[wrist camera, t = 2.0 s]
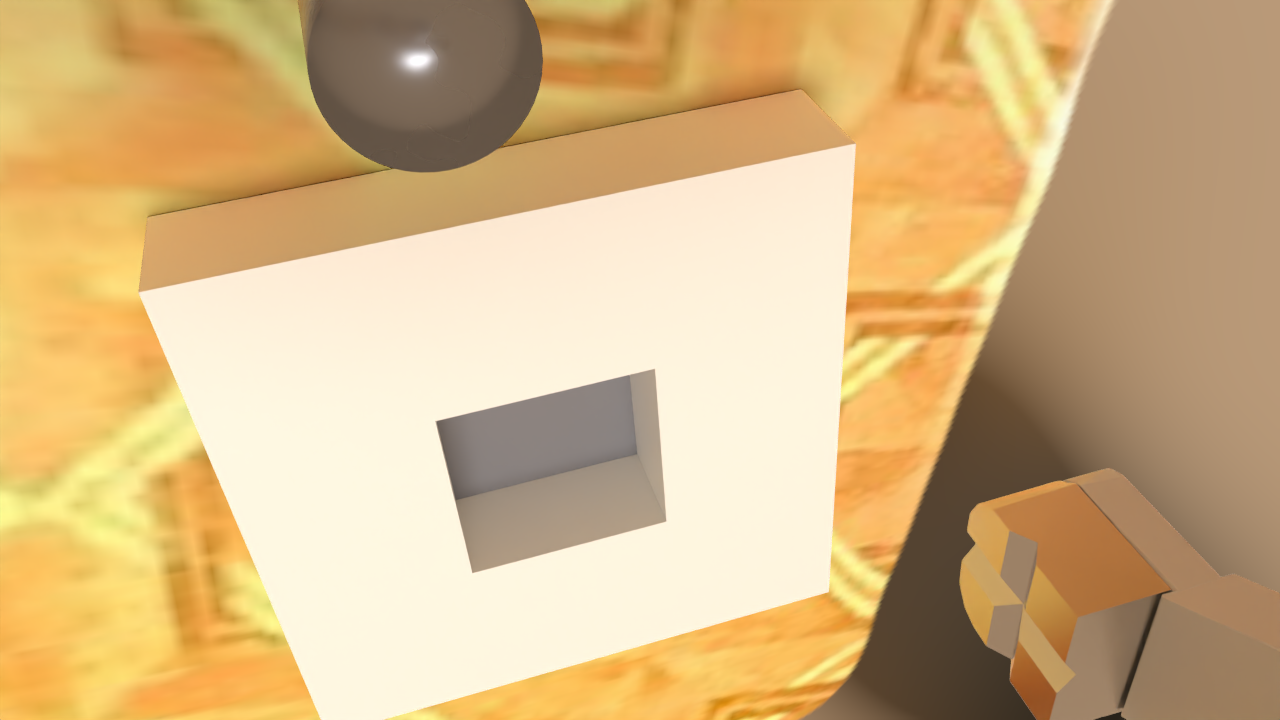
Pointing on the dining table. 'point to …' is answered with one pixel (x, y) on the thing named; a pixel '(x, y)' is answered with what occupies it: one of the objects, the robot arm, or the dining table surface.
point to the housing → (523, 394)
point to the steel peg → (422, 76)
